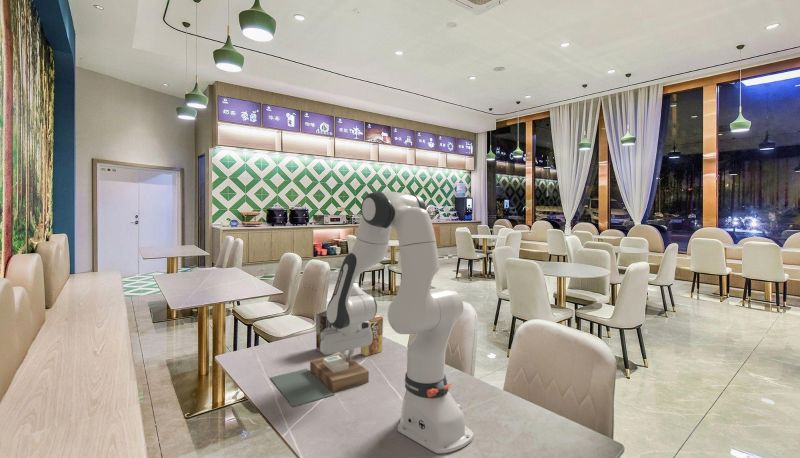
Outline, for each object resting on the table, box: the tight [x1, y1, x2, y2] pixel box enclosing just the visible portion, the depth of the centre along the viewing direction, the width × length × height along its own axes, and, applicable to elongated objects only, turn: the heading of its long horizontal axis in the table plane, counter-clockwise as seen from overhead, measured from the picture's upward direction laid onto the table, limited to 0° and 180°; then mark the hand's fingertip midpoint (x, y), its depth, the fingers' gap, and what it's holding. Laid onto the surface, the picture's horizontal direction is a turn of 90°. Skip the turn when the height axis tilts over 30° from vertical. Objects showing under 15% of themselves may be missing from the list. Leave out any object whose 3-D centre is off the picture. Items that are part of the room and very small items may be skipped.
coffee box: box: [315, 310, 335, 356], centre depth 169 cm, size 9×6×16 cm
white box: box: [323, 354, 349, 373], centre depth 144 cm, size 9×6×2 cm, turn 35°
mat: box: [269, 368, 335, 408], centre depth 137 cm, size 24×14×1 cm, turn 35°
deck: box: [309, 353, 370, 393], centre depth 145 cm, size 20×14×4 cm
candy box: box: [360, 314, 384, 357], centre depth 168 cm, size 9×4×15 cm, turn 129°
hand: (346, 360), depth 147 cm, fingers closed
